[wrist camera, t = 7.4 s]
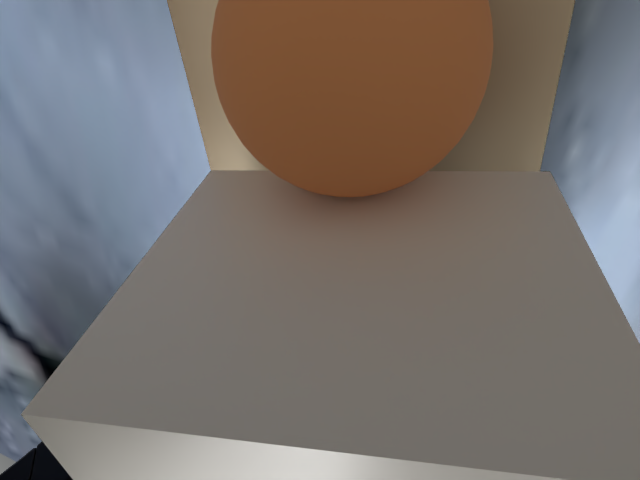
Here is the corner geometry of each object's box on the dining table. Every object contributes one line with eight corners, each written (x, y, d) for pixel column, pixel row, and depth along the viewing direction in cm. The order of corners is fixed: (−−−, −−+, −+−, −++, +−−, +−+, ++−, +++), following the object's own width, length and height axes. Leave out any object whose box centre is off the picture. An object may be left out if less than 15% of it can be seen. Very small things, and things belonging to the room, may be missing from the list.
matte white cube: (260, 372, 15) (180, 614, 10) (211, 170, 11) (20, 414, 6) (497, 393, 14) (547, 687, 9) (550, 171, 9) (718, 497, 4)
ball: (227, 247, 9) (107, -4, 5) (271, 100, 12) (215, -130, 8) (482, 252, 8) (562, -43, 4) (462, 93, 11) (500, -168, 7)
